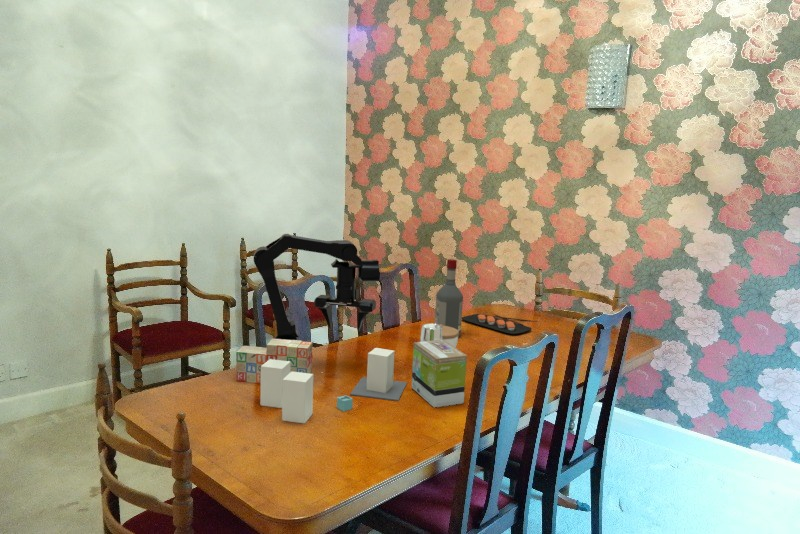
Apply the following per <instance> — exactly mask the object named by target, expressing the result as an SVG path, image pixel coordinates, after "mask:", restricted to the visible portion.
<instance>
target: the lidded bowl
mask: <svg viewBox="0 0 800 534" xmlns="http://www.w3.org/2000/svg"><path fill="white" fill-rule="evenodd" d="M440 325H441V326H442V340H444V341H445V342H447V343H448V344H450V345H451V346H453V347H455V348H456V349H457V345H458V340H459V337H458V335H459V331H458V330H457V329H455V328H452V327H449V326H443V325H442V324H440Z"/></svg>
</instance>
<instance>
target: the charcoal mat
mask: <svg viewBox="0 0 800 534" xmlns="http://www.w3.org/2000/svg"><path fill="white" fill-rule="evenodd" d="M407 385H408V382H407V381H401V380H393V386H392V387H391V388H390V389H389V390H388V391H387V392H386V393H382V392H377V391H371V390H366V388H367V376H362V377H361V378H360V380H359V381H358V382H357V383H356V385H355V386H354V388H353V390H352V391H351V392H350V393H349V395H350V396H354V397H363V398H368V399H369V398H370V399H371V398H372V399H377V400H378V399H379V400H386V401H394V402H399V401H400V398H401V397H402V394H403V392H404V390H405V389H406V386H407Z"/></svg>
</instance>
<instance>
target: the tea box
mask: <svg viewBox="0 0 800 534" xmlns="http://www.w3.org/2000/svg"><path fill="white" fill-rule="evenodd" d="M412 349H413V350H412V351H413V352H412V372H411V389H412V390H413V391H415V392H416V393H417V394H418V395H419V396H421V397H422V398H423V400H425V402H427V403H428V404H429V405H430V406H431V407H432V406H433V407H434V408H435V407H437V408H443V407H442V406H444V407H449V405H450V406H457V405H462V404H464V403H465V387H466V375H467V374H466V373H467V360H468V359H467V358H468V355H467V354H465V353H464V352H462V351H461V350H459V349H458V348H457V347H456V348H455V347H453V346H451V345H450V344H448V343H447V342H445V341H444V340H442V339H441V340H433V341H424V342H420V341H417V342H416V341H414V342H413V348H412ZM456 404H457V405H456ZM433 407H432V408H433ZM434 408H433V409H434ZM435 409H436V408H435Z"/></svg>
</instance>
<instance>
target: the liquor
mask: <svg viewBox="0 0 800 534" xmlns="http://www.w3.org/2000/svg"><path fill="white" fill-rule="evenodd" d="M457 262H458V261H457V259H454V258H453V259H452V258H450V259H447V261H446V263H447V264H446V279H445V284H444V285H442V287H440V288H439V290H437V292H436V294H435V295H436V296H435V312H434V324H438V325H440V324H442V325H443V326H449V327H452V328H455V329H457V330H458V331H459V335H458V338H460V337H461V333H462V321H463V320H462V317H463V306H464V305H463V304H464V303H463V302H464V296H463V294H462V292H461V290H460V289H459V287H458V286H457V285H456V273H457V272H456V271H457V266H458V265H457V264H458V263H457Z"/></svg>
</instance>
